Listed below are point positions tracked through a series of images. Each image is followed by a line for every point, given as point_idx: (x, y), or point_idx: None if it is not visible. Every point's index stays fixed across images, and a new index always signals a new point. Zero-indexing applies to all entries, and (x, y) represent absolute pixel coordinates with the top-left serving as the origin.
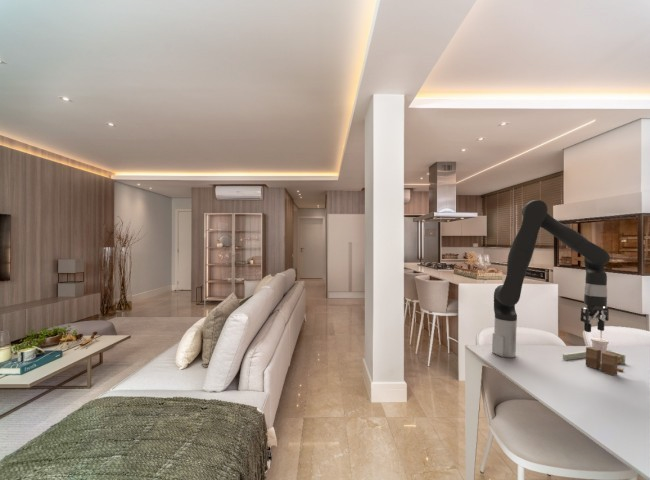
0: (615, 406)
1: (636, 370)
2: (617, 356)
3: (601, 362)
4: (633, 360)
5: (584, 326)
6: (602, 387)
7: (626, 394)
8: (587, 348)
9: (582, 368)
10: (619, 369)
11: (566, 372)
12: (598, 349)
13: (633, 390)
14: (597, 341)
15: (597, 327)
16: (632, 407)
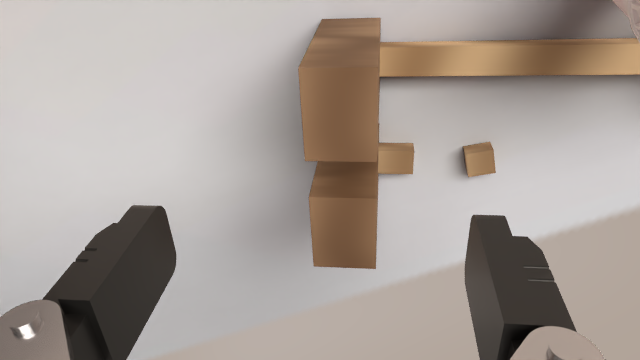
0: None
1: (623, 177)
2: (370, 264)
3: (476, 53)
4: None
5: (74, 264)
6: None
7: (157, 309)
8: (299, 79)
9: (241, 50)
10: (466, 163)
11: (54, 71)
12: (359, 149)
13: (235, 301)
14: (635, 10)
15: (477, 233)
16: None
